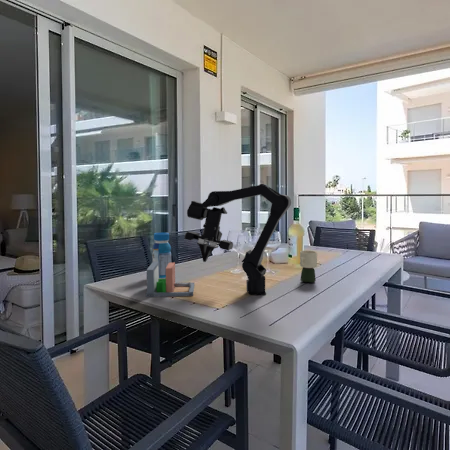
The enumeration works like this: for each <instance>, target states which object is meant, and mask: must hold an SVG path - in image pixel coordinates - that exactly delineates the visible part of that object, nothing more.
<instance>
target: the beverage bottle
mask: <svg viewBox="0 0 450 450" xmlns="http://www.w3.org/2000/svg"><path fill="white" fill-rule="evenodd" d="M153 241H154V244H153V245H152V253H151V256H152V262H159V279H165V278H166V267H167V265H168V263H172V252H171V250H172V245H171V244H170V242H169V241H170V233H169V232H154V233H153Z"/></svg>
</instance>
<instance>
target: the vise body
mask: <svg viewBox="0 0 450 450" xmlns="http://www.w3.org/2000/svg"><path fill="white" fill-rule="evenodd" d="M158 279H159V262H153V261H151V264H150V265H149V266H148V267H147V269H146V292H145V297H193V296H194V291H195V290H194V289H195V282H191V287H189V290H188V291H178V292H177V291H173V292H160V293H157V282H158ZM179 283H180V282H175V284H179Z"/></svg>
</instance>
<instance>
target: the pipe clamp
mask: <svg viewBox="0 0 450 450" xmlns="http://www.w3.org/2000/svg"><path fill="white" fill-rule="evenodd" d="M160 292H166V278H165V279H158V282H157V291H156V293H160Z"/></svg>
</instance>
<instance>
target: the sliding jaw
mask: <svg viewBox="0 0 450 450" xmlns="http://www.w3.org/2000/svg"><path fill="white" fill-rule="evenodd" d="M175 283H176V262H171V263H168V265H167V267H166V292H175V289H176V287H188V288H190V287H191V283H192V281H190V282H189V281H188V282H178V283H179V284H175Z"/></svg>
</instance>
